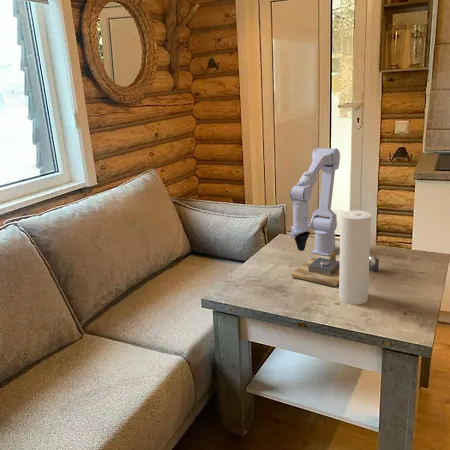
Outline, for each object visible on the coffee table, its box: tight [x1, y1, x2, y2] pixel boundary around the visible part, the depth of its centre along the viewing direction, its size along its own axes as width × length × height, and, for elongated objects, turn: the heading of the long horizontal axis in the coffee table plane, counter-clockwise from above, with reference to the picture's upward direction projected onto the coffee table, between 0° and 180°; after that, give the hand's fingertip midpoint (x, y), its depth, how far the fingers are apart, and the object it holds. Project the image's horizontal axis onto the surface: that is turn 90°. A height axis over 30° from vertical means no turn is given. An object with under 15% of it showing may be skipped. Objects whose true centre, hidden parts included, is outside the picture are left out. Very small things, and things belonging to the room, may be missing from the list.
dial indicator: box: [369, 255, 380, 273], centre depth 172 cm, size 3×4×6 cm
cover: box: [308, 257, 340, 277], centre depth 172 cm, size 9×9×3 cm
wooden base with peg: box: [290, 251, 340, 287], centre depth 172 cm, size 18×18×5 cm
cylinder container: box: [338, 209, 372, 306], centre depth 149 cm, size 9×9×30 cm
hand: (301, 250), depth 177 cm, fingers closed
